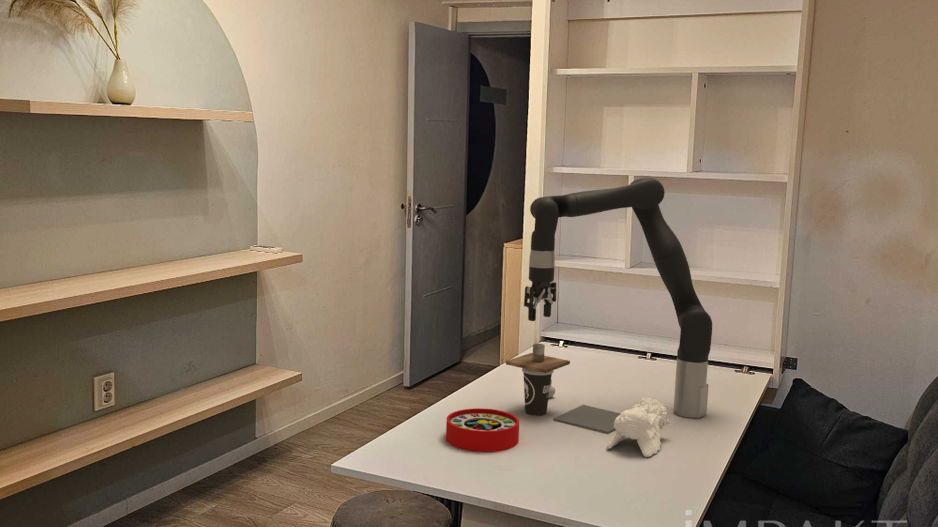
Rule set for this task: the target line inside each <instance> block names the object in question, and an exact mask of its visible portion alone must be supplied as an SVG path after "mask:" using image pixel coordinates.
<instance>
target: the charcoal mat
mask: <svg viewBox="0 0 938 527" xmlns="http://www.w3.org/2000/svg"><path fill="white" fill-rule="evenodd" d="M621 413H622V412H615V411H611V410H608V409H603V408H599V407H595V406H591V405H586V404H582V405H580V406H577V407H575V408H573V409H571V410H569V411H566V412H564V413H562V414H560V415H557V416H556V417H553V419H552V420H553V421H555V422H559V423H562V424H567V425H571V426H575V427H579V428H583V429H586V430H590V431H594V432H598V433H602V434H607V435H608V434H611V433H613V432H614V431H616V429H614V421H615V419H616V417H618V416H620V414H621Z"/></svg>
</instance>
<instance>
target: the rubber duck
mask: <svg viewBox="0 0 938 527" xmlns="http://www.w3.org/2000/svg"><path fill="white" fill-rule="evenodd" d="M552 383H553V382H552V379H551V383H550V390H549V398H551V397H553V396H554V395H555V393H556V388H555V387H554V386H552ZM549 398H548V399H549Z"/></svg>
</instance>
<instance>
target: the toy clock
mask: <svg viewBox="0 0 938 527" xmlns="http://www.w3.org/2000/svg"><path fill="white" fill-rule="evenodd" d="M445 427H446V428H445V441H446V443H448V444H449V445H451V446H452V447H453V448H457V449H460V450H462V451H463V450H464V451H469V452H474V453H475V452H476V453H496V452H503V451H507V450H511V449H512V448H514V447H516V446H517V445H518V444H519V440H520V437H519V436H520V419H519V418H518V417H517V416H516V415H514V414H513V413H509V412H507V411H505V410H504V411H503V410H500V409H499V410H498V409H493V408H479V407H478V408H477V407H476V408H475V407H474V408H466V409H460V410H457V411H453V412H451V413H449V414H448V415H447V416H446V426H445Z"/></svg>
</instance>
